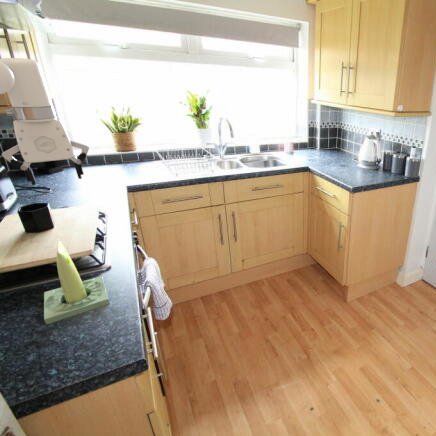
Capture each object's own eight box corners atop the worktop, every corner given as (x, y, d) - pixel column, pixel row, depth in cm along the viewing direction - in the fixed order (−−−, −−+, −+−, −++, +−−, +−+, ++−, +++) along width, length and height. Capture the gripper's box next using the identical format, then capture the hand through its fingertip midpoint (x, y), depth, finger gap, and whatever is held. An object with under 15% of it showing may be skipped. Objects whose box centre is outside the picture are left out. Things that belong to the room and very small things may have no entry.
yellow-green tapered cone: (95, 299, 93) (75, 241, 85) (79, 311, 89) (57, 250, 81) (79, 296, 94) (58, 238, 86) (62, 307, 90) (39, 247, 82)
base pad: (47, 328, 83) (43, 319, 81) (47, 300, 92) (44, 292, 91) (111, 307, 91) (108, 298, 89) (104, 283, 101) (102, 275, 99)
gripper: (-16, 117, 71) (13, 190, 78) (80, 114, 81) (98, 178, 88) (-12, 114, 76) (15, 182, 83) (78, 111, 86) (95, 172, 93)
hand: (57, 180), depth 85 cm, fingers open, 9 cm apart
